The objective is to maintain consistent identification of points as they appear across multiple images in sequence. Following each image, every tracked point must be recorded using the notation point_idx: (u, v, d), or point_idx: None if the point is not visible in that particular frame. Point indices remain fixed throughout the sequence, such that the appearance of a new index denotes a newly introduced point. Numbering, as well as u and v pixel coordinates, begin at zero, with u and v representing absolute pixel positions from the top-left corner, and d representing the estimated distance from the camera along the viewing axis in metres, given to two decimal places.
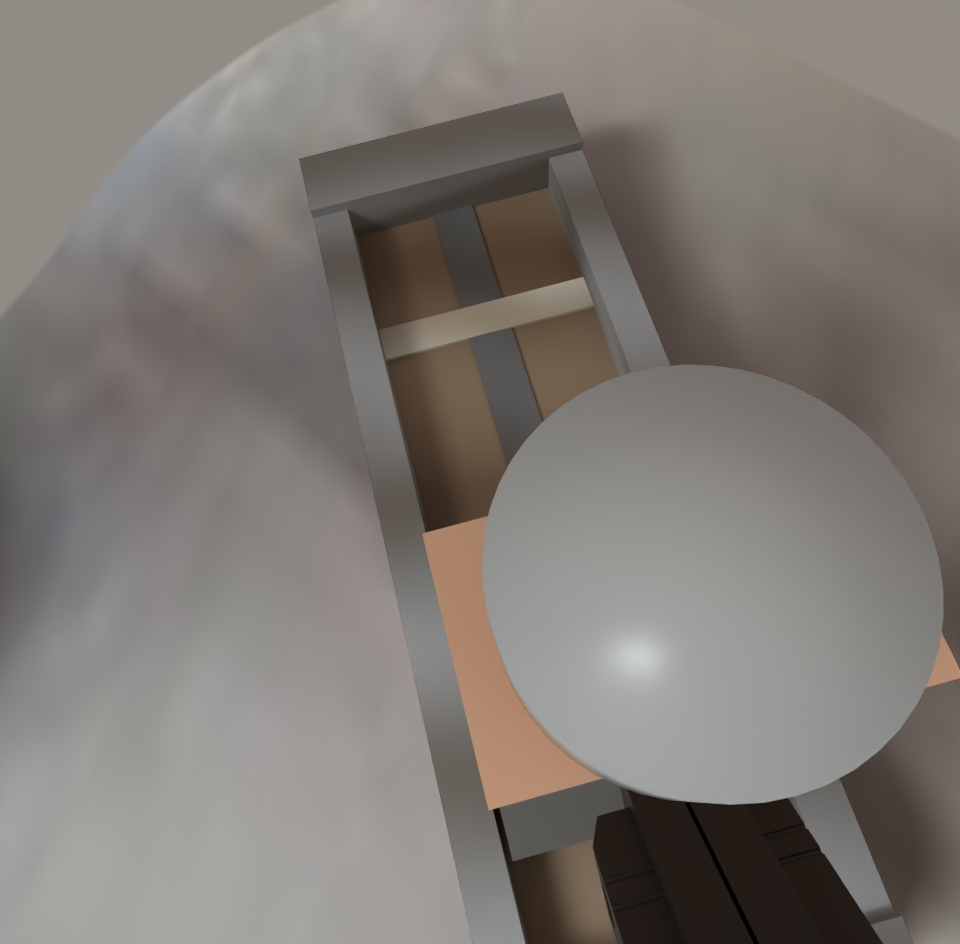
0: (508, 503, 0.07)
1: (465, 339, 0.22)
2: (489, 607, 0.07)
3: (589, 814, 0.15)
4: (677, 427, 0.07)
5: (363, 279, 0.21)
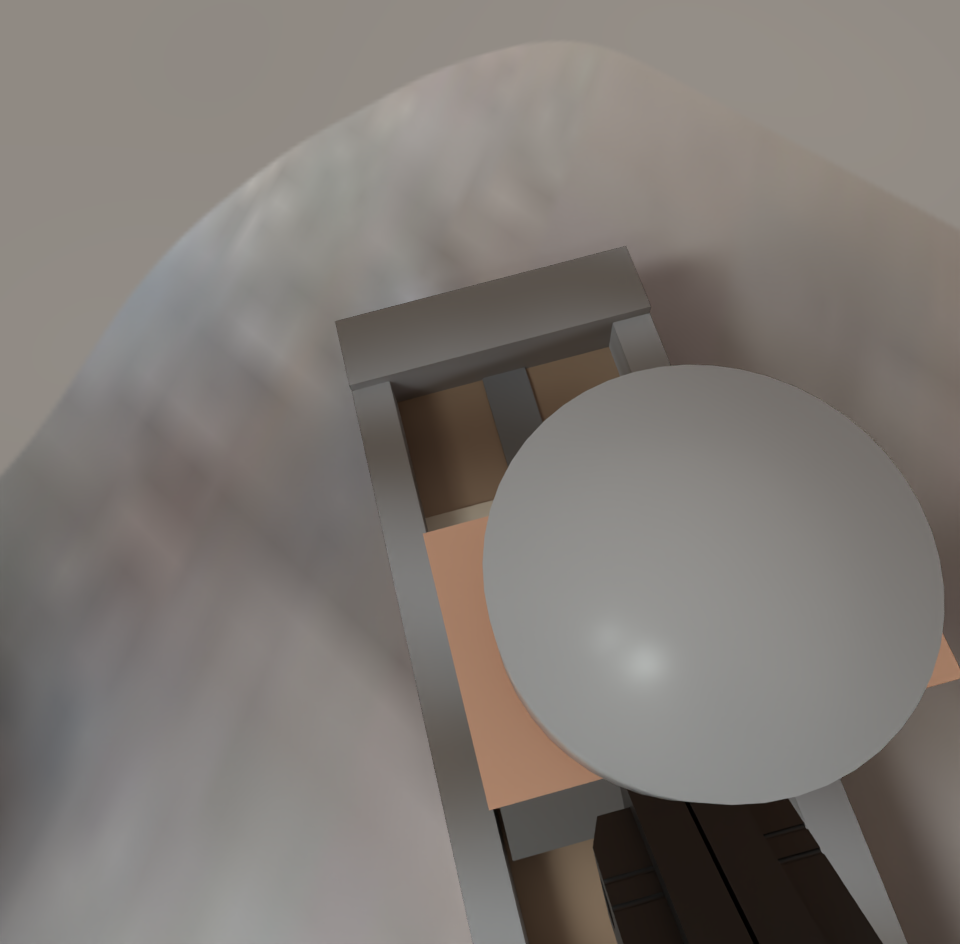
0: (509, 503, 0.07)
1: None
2: (490, 607, 0.07)
3: (589, 814, 0.15)
4: (678, 427, 0.07)
5: (409, 467, 0.19)
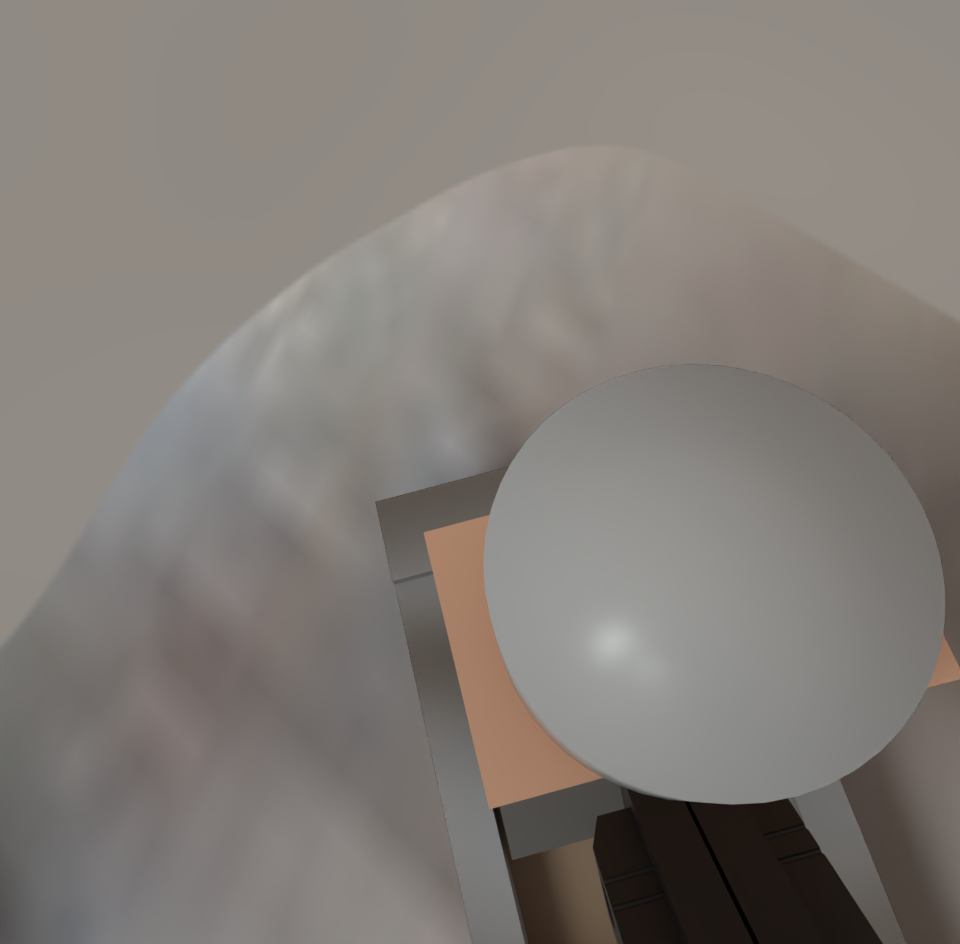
0: (510, 502, 0.07)
1: None
2: (490, 606, 0.07)
3: (589, 813, 0.15)
4: (679, 427, 0.07)
5: None
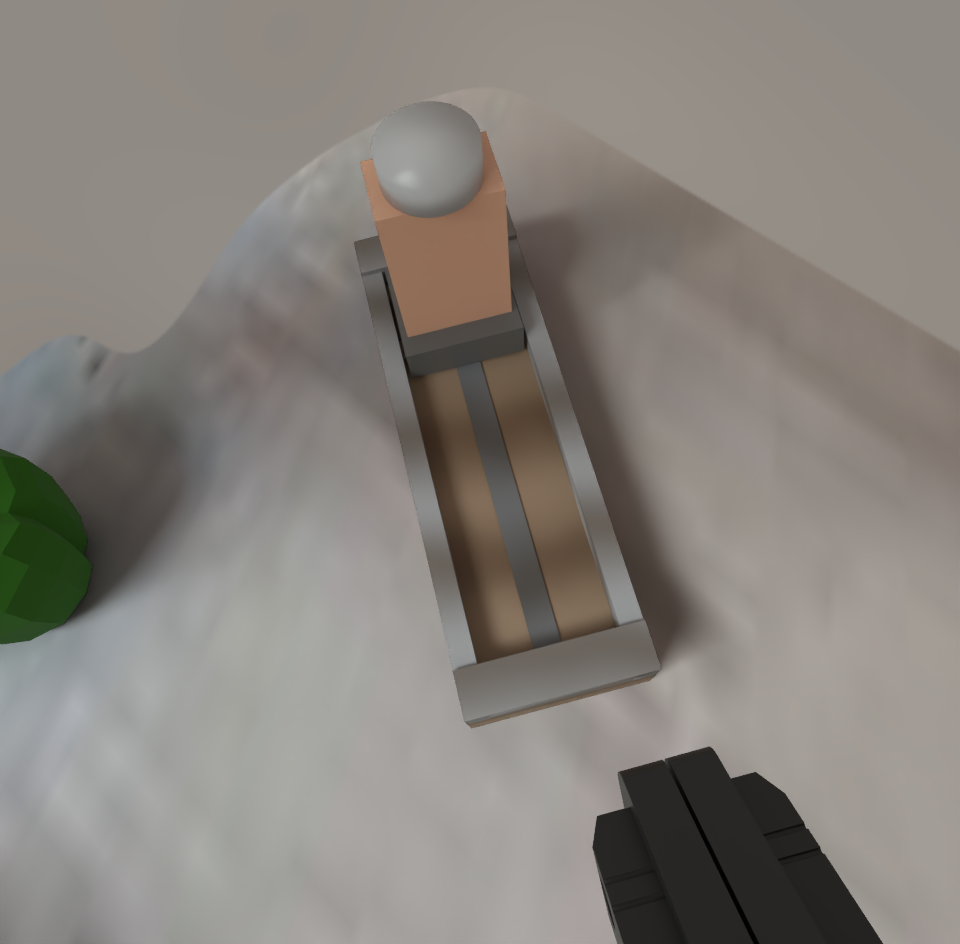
0: (378, 132, 0.28)
1: None
2: (371, 153, 0.28)
3: (438, 341, 0.36)
4: (423, 115, 0.29)
5: (391, 313, 0.38)
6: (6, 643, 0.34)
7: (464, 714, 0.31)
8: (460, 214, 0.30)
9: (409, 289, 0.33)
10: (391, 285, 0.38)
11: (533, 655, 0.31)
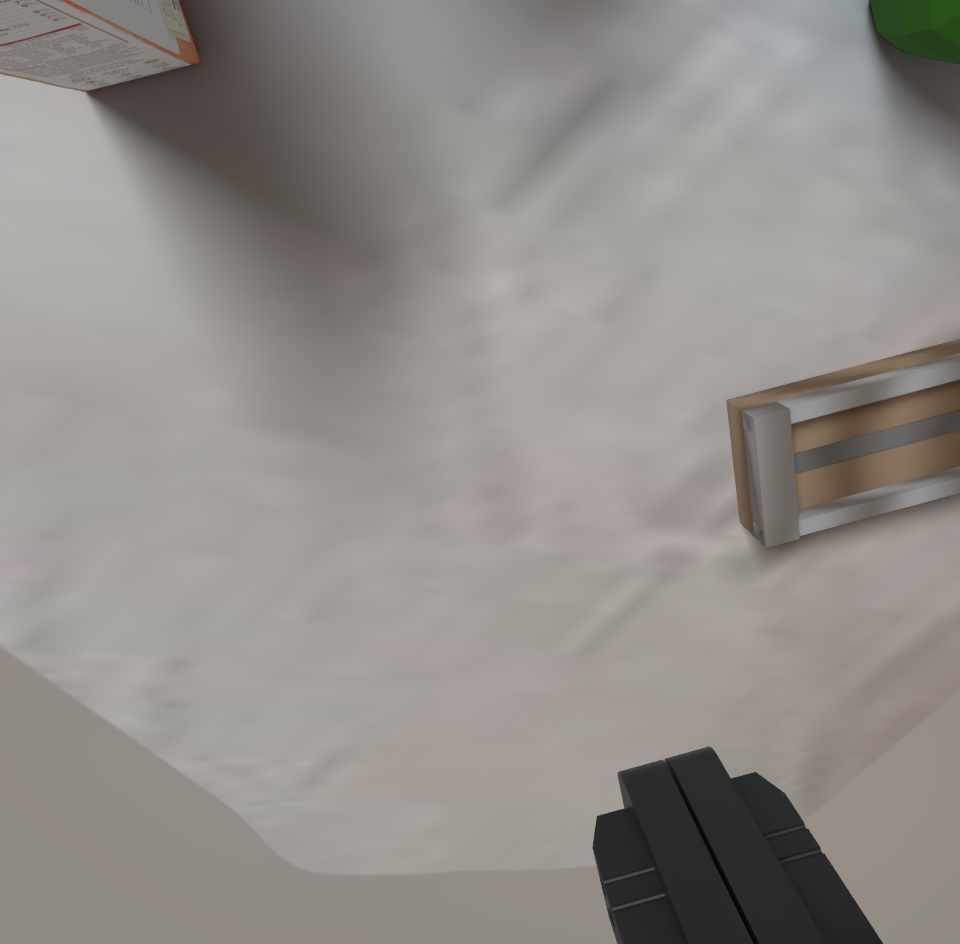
0: None
1: None
2: None
3: None
4: None
5: None
6: None
7: (758, 418, 0.42)
8: None
9: None
10: None
11: (790, 465, 0.43)
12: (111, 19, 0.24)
